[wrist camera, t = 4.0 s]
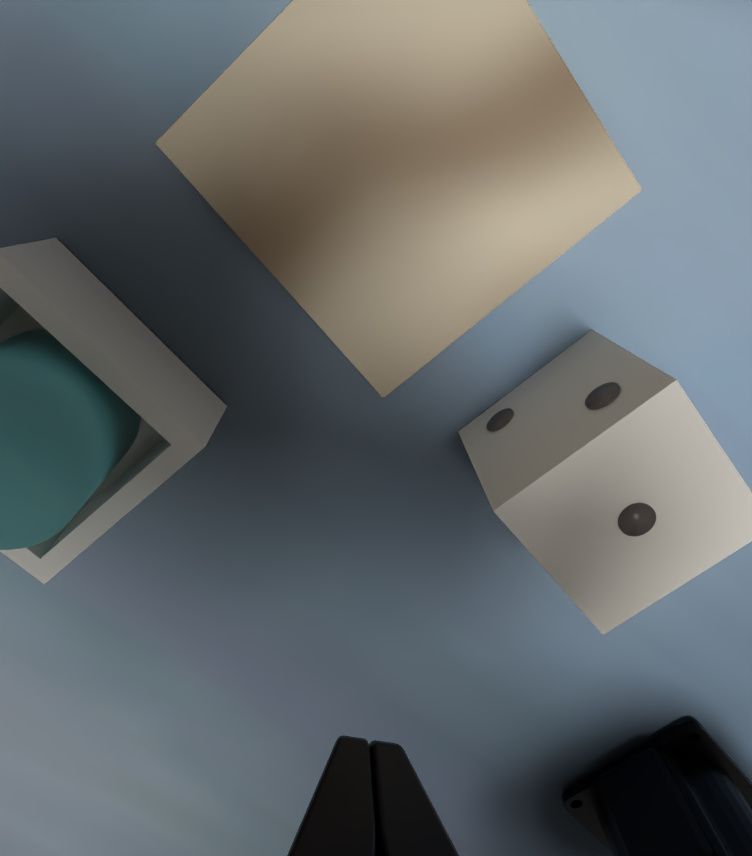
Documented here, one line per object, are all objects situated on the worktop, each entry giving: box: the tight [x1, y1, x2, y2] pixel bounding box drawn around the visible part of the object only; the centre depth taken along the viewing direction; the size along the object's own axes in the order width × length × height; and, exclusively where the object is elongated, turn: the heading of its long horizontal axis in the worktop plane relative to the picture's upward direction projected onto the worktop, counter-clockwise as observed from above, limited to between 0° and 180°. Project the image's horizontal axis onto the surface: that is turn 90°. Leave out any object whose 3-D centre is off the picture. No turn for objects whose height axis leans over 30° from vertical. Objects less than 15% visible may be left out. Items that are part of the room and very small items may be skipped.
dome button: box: [0, 329, 141, 550], centre depth 15 cm, size 4×4×4 cm
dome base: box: [0, 238, 227, 584], centre depth 16 cm, size 6×6×3 cm
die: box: [458, 330, 752, 635], centre depth 17 cm, size 5×5×5 cm
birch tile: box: [155, 0, 642, 398], centre depth 16 cm, size 9×9×1 cm
